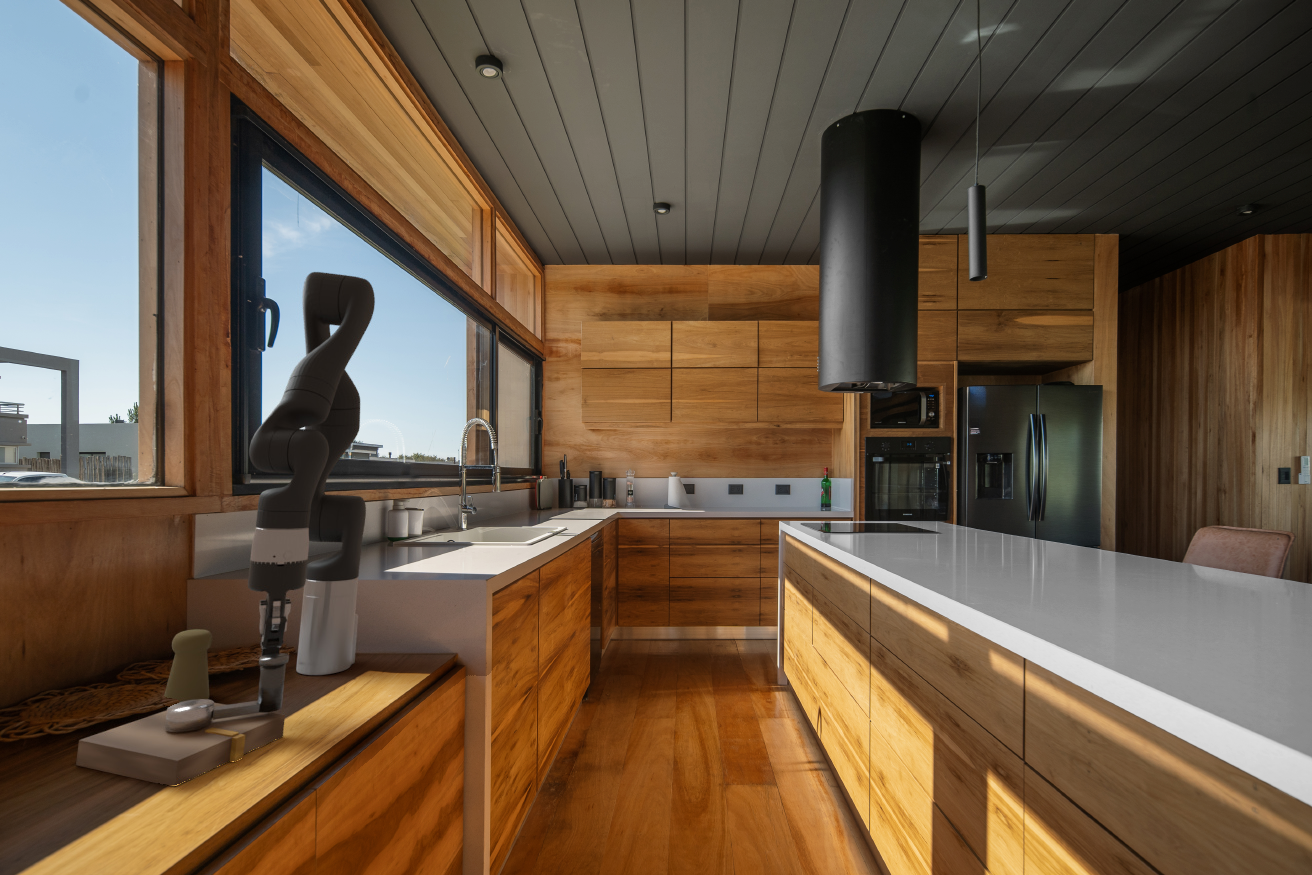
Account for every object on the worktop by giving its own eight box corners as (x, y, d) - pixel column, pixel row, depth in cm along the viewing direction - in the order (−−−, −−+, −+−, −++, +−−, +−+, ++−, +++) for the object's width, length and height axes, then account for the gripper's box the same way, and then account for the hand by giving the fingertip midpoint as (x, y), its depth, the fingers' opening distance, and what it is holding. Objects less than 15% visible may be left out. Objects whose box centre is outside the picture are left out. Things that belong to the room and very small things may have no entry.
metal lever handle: (163, 734, 76) (170, 673, 77) (166, 721, 80) (173, 662, 81) (285, 715, 84) (290, 659, 84) (282, 704, 88) (287, 650, 89)
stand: (195, 720, 89) (197, 698, 89) (287, 737, 84) (289, 714, 85) (76, 764, 74) (79, 738, 74) (179, 788, 70) (182, 759, 70)
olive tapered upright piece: (183, 709, 93) (191, 636, 93) (151, 704, 94) (159, 632, 95) (218, 695, 98) (225, 628, 99) (188, 691, 100) (196, 624, 101)
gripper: (250, 552, 95) (238, 663, 94) (251, 563, 84) (238, 689, 83) (304, 551, 99) (294, 657, 98) (311, 561, 89) (300, 681, 87)
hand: (268, 672), depth 90 cm, fingers closed
